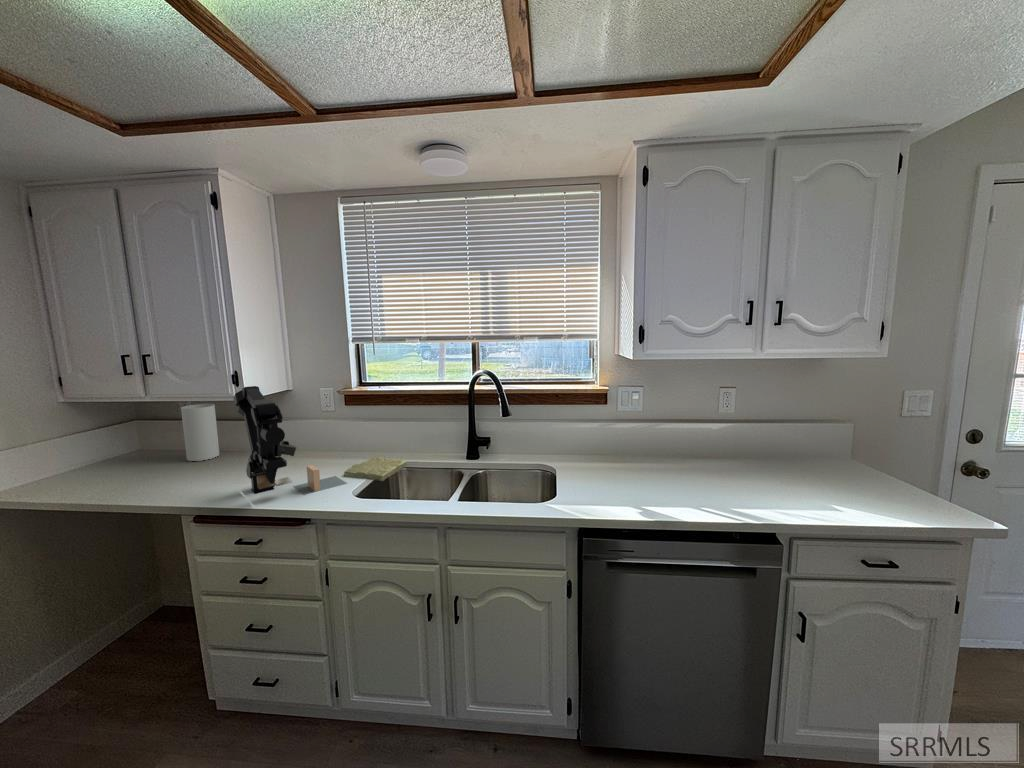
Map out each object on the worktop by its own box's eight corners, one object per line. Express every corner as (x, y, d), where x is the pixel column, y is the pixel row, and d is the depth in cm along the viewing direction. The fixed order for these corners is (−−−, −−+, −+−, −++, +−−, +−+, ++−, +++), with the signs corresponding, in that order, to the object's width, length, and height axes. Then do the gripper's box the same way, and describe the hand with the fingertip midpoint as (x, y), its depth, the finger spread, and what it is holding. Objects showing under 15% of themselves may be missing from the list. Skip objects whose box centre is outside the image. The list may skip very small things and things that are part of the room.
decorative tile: (407, 466, 183) (407, 458, 182) (382, 482, 163) (382, 473, 163) (369, 463, 187) (369, 455, 187) (341, 478, 168) (341, 470, 167)
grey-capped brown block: (260, 490, 140) (259, 478, 140) (256, 486, 144) (255, 475, 143) (292, 482, 147) (291, 471, 146) (287, 479, 151) (287, 468, 150)
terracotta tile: (314, 491, 152) (313, 470, 151) (308, 486, 157) (306, 466, 156) (320, 489, 153) (319, 469, 152) (314, 485, 158) (312, 464, 157)
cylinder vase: (204, 453, 203) (198, 403, 200) (226, 454, 201) (221, 404, 198) (179, 461, 191) (173, 408, 188) (203, 462, 189) (197, 408, 186)
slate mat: (303, 496, 149) (303, 494, 149) (293, 487, 157) (292, 486, 157) (347, 484, 160) (347, 483, 160) (335, 477, 168) (335, 475, 168)
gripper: (301, 439, 141) (304, 483, 143) (284, 430, 155) (287, 470, 157) (264, 445, 134) (268, 492, 136) (250, 435, 147) (254, 478, 149)
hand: (271, 482), depth 144 cm, fingers closed on grey-capped brown block, 2 cm apart
